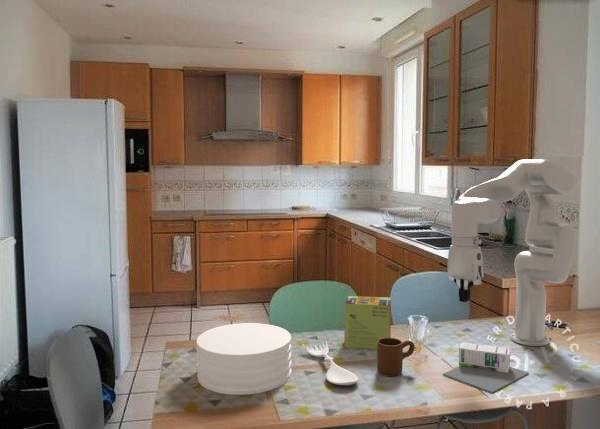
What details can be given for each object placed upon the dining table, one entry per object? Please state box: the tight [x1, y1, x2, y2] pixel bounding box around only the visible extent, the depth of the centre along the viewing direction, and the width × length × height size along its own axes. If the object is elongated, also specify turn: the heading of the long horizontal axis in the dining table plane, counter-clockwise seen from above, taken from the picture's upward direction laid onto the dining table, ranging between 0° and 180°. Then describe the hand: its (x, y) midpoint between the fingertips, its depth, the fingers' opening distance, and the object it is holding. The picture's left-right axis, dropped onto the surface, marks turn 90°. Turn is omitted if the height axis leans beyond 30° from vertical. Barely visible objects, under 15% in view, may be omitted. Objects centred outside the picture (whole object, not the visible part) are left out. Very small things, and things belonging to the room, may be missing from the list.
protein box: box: [343, 295, 392, 350], centre depth 182 cm, size 10×15×16 cm
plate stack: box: [196, 322, 292, 396], centre depth 157 cm, size 28×28×12 cm
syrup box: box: [458, 342, 511, 373], centre depth 160 cm, size 6×6×14 cm
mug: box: [376, 337, 416, 377], centre depth 158 cm, size 12×8×9 cm, turn 106°
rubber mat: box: [442, 365, 529, 394], centre depth 155 cm, size 20×16×1 cm
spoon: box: [302, 340, 359, 386], centre depth 161 cm, size 9×32×4 cm, turn 16°
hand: (464, 300), depth 160 cm, fingers closed
